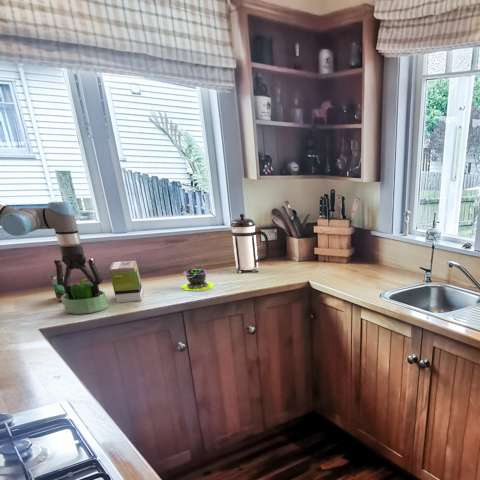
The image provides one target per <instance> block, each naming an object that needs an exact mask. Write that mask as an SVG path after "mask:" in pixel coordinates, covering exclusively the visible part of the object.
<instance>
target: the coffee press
mask: <svg viewBox="0 0 480 480" xmlns="http://www.w3.org/2000/svg"><path fill="white" fill-rule="evenodd" d="M227 230H228V231H231V236H232V243H233V253H234V261H235V267H236V269H237V270H236V273H237V274H241V273H242V272H243V271H254V272H255V273H259V271H260V270H259V262H266V261H267V260H268V259H269V258H270V243H269V237H268V235H267V233H266V232H264V231H262V230H256V223H255V221H254V220H253V219H251V218H246V217H245V214H244V213H240V214H239V218H235V219H233V220H231V222H230V226H229V227H228V228H227ZM256 235H261V236H263V237H264V243H265V255H264V257H258V248H257V237H256Z"/></svg>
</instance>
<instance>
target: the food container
mask: <svg viewBox="0 0 480 480" xmlns="http://www.w3.org/2000/svg"><path fill="white" fill-rule="evenodd" d="M64 276H65V273H63V281H64ZM50 279H51V284H52V287H53V290H54V295H55V298H56V301H57V303H62V300H61V297H62V296H63V295H65V294H66V293H65V290H64V287H63V286H62V285H58V284H57V273H50Z"/></svg>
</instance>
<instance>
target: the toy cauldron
mask: <svg viewBox="0 0 480 480" xmlns="http://www.w3.org/2000/svg"><path fill="white" fill-rule="evenodd" d="M192 263H193V262H191V263H190V265H193V264H192ZM195 266H198V263H197V264H196V263H195ZM188 267H189V268H190V266H187V267H186V269H188V270H185V271H183V272H182V274H183V275H186V276H185V278H186V280H187V281H188V283H186V284H183V285H182V286H181V287H180V288H181V289H182V290H183V291H188V292H189V291H190V292H197V291H200V292H201V291H206V290H210V289H212V288H214V287H215V284H214V283H212V282H208V281H206V280H207V275H206V274H207V273H209V270H206V269H202V268H204V266H203V265H202V266H201V268H196V267H194V268H192V269H189V268H188Z"/></svg>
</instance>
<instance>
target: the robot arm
mask: <svg viewBox="0 0 480 480" xmlns="http://www.w3.org/2000/svg"><path fill="white" fill-rule="evenodd" d="M0 227H1V229H3V231H4V232H5V233H7V235H8V234H9V235H10V236H15V237H20V236H25V235H28V234H29V233H31V232H34V231H37V230H53V229H54V233H55V236H56V240H57V244H58V245H59V251H60V255H61V258H56V259H55V260H53V263H54V264H55V270H56V274H57V284H58V285H62V286H63V287H64V290H65V293H66V294H68V296H69V299H70V300H74V298H73V296H72V294H71V291H70V288H71V287H72V285H71V284H70V280H71V275H72V272H73V270H80V271H81V272H82V273H83V274H84V276H85V277H86V279H87V280H88V281H89V283H91V284H92V286H91V288H92V292H93V296H94V297H98V293H99V292H100V291H99V290H100V287H99V285H101V284H102V283H103V279H102V276H101V275H100V272H99V270H98V268H97V266H96V263H95V261H96V260H95V259H94V258H92V257H91V258H87V257H86V256H85V252H84V248H83V245H82V244H81V243H82V240H81V236H80V233H79V229H78V224H77V220H76V214H75V212H74V209H73V206H72V204H71V203H70V202H69V201H50V202H48V203H47V207H18V208H17V207H16V208H14V207H12V206H9V205H7V204H5V203H3V202H1V201H0ZM63 264H64V265H65V272H64V270H63V269H64V268H63ZM86 264H87V265H88V266H89V269H90V270H89V269H88V267H87V265H86ZM63 274H64V275H65V276H64V281H63Z"/></svg>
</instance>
